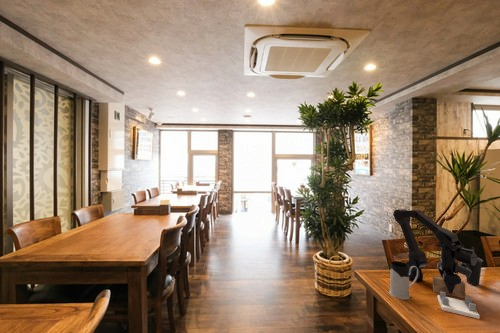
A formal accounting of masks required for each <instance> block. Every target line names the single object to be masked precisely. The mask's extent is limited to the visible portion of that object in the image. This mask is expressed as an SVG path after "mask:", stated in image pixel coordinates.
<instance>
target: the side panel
mask: <svg viewBox="0 0 500 333" xmlns="http://www.w3.org/2000/svg"><path fill="white" fill-rule="evenodd" d="M437 300H438V303H439V305H440V307H441V310H442V311H445V312H449V313H453V314H458V315H461V316H466V317H470V318H474V319H478V320H480V314H479V312H478V310H477V305H476V303H473V299H472V298H471V297H468V296H465V298H464V300H461V299H458V298H454V297H448V296H447V294H446V293H445V292H440V293H439V294H437Z"/></svg>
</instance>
